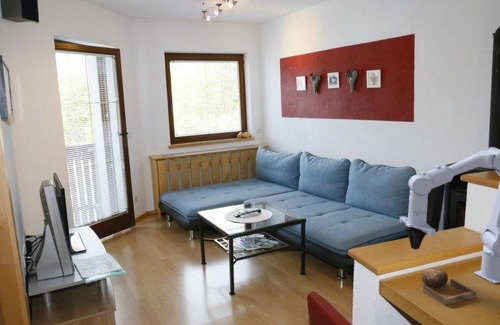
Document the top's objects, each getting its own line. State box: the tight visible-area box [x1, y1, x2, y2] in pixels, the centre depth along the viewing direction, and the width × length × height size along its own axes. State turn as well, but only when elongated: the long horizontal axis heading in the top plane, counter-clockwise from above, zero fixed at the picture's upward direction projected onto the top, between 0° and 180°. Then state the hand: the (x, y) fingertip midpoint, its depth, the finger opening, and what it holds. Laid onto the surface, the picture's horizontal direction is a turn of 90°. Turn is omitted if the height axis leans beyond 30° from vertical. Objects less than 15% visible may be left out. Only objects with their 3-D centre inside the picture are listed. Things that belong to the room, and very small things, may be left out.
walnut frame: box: [422, 278, 477, 306], centre depth 124 cm, size 12×9×2 cm
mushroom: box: [421, 267, 449, 290], centre depth 129 cm, size 8×8×6 cm
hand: (415, 248), depth 136 cm, fingers closed
